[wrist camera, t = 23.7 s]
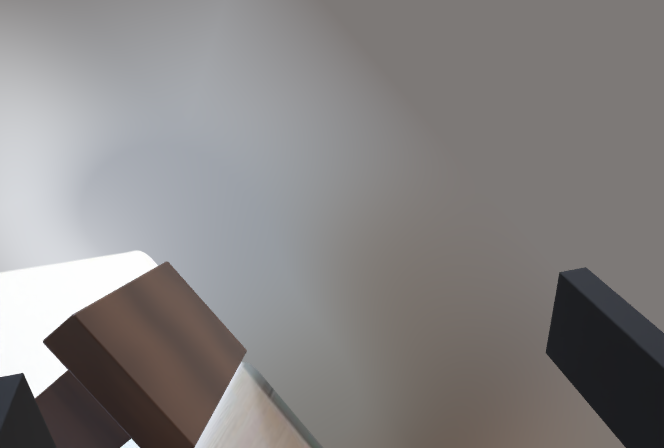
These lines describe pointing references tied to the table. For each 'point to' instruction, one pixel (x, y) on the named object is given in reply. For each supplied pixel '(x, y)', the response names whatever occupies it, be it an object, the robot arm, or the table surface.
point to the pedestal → (139, 367)
